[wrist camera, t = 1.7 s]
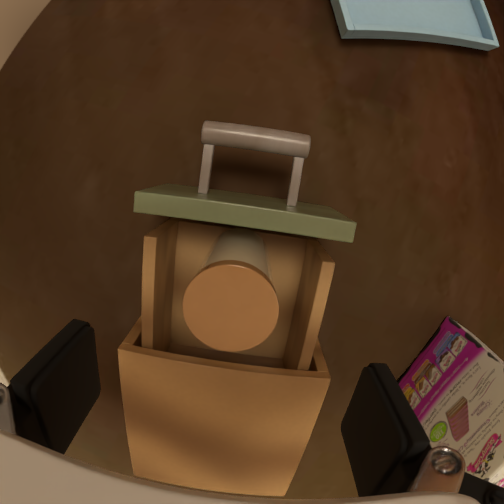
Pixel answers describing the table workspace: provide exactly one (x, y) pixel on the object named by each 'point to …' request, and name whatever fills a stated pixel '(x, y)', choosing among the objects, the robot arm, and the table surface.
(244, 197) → the drawer
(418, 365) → the candy bar box
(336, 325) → the table surface
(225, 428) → the cabinet
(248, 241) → the spice pot
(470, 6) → the tray
